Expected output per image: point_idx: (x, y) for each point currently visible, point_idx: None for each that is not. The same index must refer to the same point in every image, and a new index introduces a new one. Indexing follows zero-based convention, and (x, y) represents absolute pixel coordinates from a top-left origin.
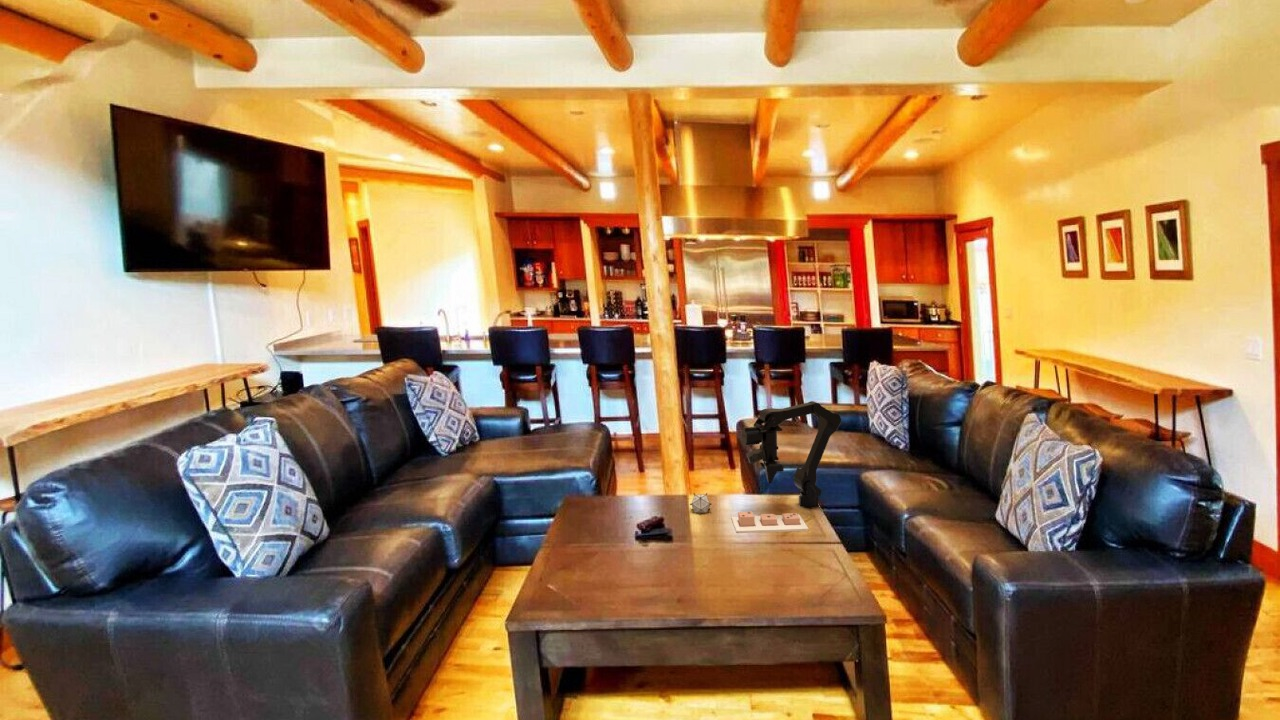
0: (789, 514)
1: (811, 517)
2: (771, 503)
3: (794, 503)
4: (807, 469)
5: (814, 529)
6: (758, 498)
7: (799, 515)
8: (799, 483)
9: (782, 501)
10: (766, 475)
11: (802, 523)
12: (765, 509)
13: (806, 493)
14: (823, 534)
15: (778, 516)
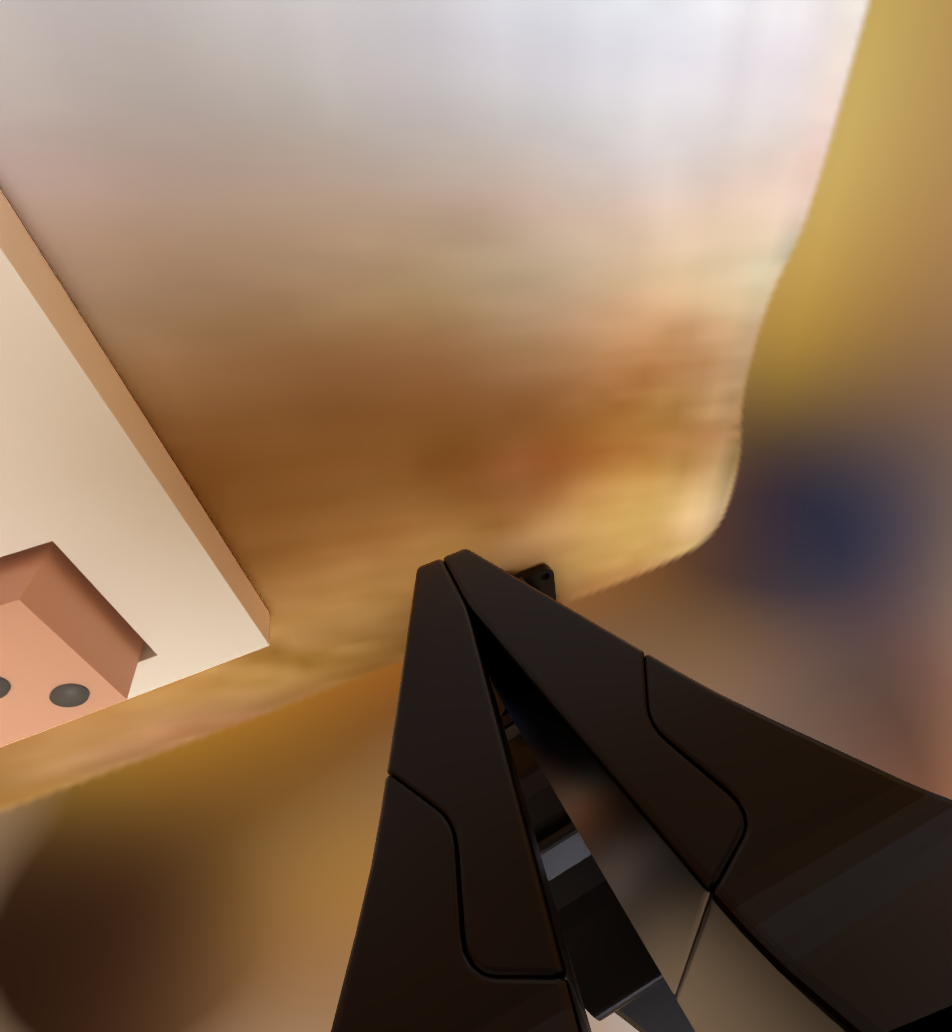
0: (35, 663)
1: (343, 664)
2: (599, 364)
3: (588, 529)
4: (650, 1021)
5: (97, 731)
6: (727, 227)
7: (243, 652)
8: (541, 797)
9: (631, 447)
10: (572, 639)
11: None
12: (453, 314)
13: (508, 727)
14: (21, 792)
15: (119, 504)
